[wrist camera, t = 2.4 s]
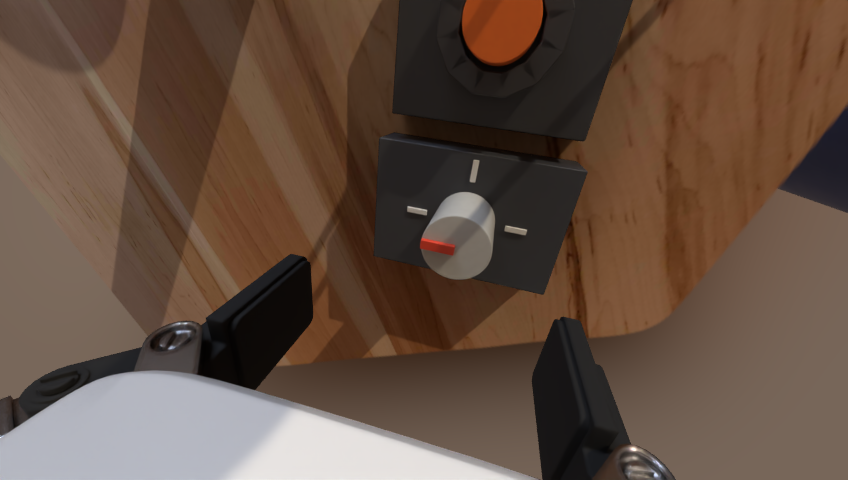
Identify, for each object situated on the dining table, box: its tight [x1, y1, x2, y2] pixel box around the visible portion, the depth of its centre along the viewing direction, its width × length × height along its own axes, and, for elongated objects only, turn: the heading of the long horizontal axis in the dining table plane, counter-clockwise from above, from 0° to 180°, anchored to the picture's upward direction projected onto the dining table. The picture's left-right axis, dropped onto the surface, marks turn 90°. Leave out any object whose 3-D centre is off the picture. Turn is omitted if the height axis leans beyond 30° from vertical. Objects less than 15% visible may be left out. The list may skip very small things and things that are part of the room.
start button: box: [462, 0, 543, 66], centre depth 15 cm, size 4×4×2 cm
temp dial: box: [420, 192, 495, 280], centre depth 19 cm, size 4×4×5 cm
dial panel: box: [374, 133, 587, 295], centre depth 22 cm, size 13×9×3 cm
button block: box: [392, 0, 633, 141], centre depth 17 cm, size 12×10×4 cm
